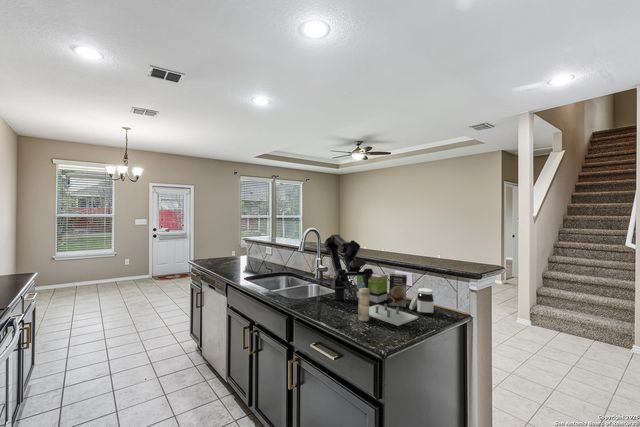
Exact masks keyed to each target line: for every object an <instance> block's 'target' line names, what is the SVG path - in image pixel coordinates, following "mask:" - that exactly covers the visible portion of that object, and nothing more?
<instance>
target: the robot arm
mask: <svg viewBox="0 0 640 427" xmlns="http://www.w3.org/2000/svg"><path fill="white" fill-rule="evenodd" d="M324 247H325V249H326V252H327V253H329V255H330V259H331V263H332V268H333V272H334V276H333V279H332V280H331V281H332V282H331V288H332V290H334V297H333V301H342V302H344V301H345V300H346V298H347V297H346V296H345V294H346V293H345V291H346V289H347V290H351V285H350V280H349V277H357V276H362V278H363V282H364V284H365V287H366V288H368V279H369V278H371V276H372V274H373V272H374V271H373V268H364V269H363V271H360V270H361V269H362V267H363V266H365V265H366V260H365V258H360V259H356V257H357V255H358V253H359V251H360V249H361V244H359V243H358V242H356V241H355V240H350V241H346V240H345V238H343V237H341V235H340V234H331V236H329V237H327V238H326V239H325V241H324ZM338 251H339V252H338ZM339 253H340V254H343V256H342V257H343V258H342V261H344V264H345V269H344V268H342V263H341V259H340V255H339ZM346 270H347V271H346ZM345 302H346V301H345Z"/></svg>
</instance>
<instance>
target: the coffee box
mask: <svg viewBox="0 0 640 427" xmlns="http://www.w3.org/2000/svg"><path fill="white" fill-rule="evenodd" d="M407 279H408V277H407V274H398V273H396V274H395V273H390V274H389V287H388V288H389V289H388V306H395V307H404V308H405V307H407V285H408V284H407V283H408V282H407V281H408V280H407Z"/></svg>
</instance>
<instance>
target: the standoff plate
mask: <svg viewBox="0 0 640 427" xmlns="http://www.w3.org/2000/svg"><path fill="white" fill-rule="evenodd" d="M395 307H396V308H395V309H394V308H391V307H388V303H384V305H381V304H375V305H374V304H373V305H372V306H369V317H371V318H374V319H377V320H380V321H383V322H386V323H389V324H391V325H394V326H397V327H398V326H402V325H405V324H407V323H409V322H412V321H416V320H417V319H419V316H417V315H414V314H410V313H407V312H404V311H402V310H401V311H400V306H395Z"/></svg>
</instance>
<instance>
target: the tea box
mask: <svg viewBox="0 0 640 427" xmlns="http://www.w3.org/2000/svg"><path fill="white" fill-rule="evenodd" d="M359 288H366V287H365V284H364V282H363V278H362V276H356V297H357V298H359ZM368 289H370V296H369V302H373V303H376V304H378V303H381V302H385V301H387V299H388V274H384V273H379V272H374V271H373V274H372V276H371V278H369V279H368ZM384 300H385V301H384Z"/></svg>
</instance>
